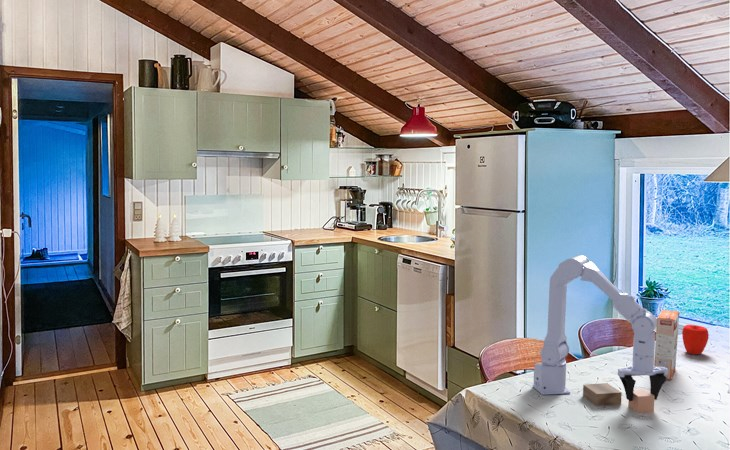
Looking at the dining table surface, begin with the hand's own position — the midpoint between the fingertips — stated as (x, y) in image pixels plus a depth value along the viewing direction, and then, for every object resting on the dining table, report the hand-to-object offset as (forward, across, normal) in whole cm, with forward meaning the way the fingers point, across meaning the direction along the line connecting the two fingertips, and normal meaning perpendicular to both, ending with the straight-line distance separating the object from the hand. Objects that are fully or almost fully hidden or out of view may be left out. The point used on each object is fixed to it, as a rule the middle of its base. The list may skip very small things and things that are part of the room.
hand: (641, 399), depth 184 cm
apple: (+3, +51, +48) cm, 70 cm away
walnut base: (+3, -8, +8) cm, 12 cm away
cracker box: (+3, +26, +28) cm, 38 cm away
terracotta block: (+3, 0, 0) cm, 3 cm away
